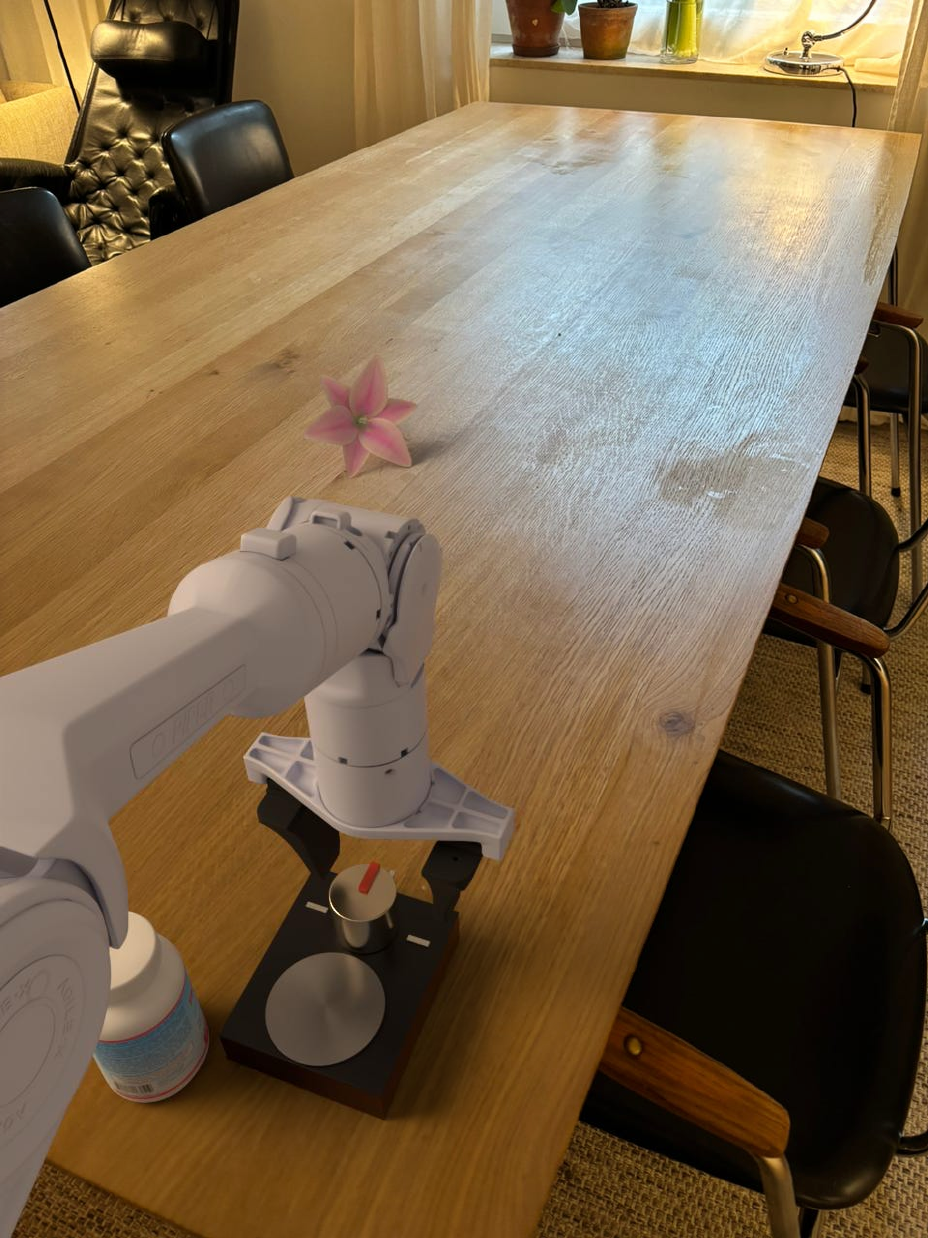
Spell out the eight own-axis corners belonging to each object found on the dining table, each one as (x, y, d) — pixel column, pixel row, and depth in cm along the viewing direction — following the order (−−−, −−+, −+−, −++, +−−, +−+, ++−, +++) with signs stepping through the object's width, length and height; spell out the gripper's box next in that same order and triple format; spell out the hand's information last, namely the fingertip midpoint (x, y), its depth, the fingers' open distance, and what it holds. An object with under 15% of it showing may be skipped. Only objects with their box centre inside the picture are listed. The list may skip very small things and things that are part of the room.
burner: (354, 1085, 53) (354, 1083, 53) (243, 1043, 55) (243, 1041, 55) (403, 975, 58) (403, 973, 58) (300, 940, 60) (299, 938, 60)
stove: (384, 1121, 55) (380, 1096, 53) (226, 1060, 58) (217, 1033, 55) (467, 921, 64) (466, 893, 62) (328, 876, 67) (323, 848, 65)
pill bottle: (232, 1036, 59) (196, 932, 51) (156, 1127, 55) (106, 1028, 47) (158, 986, 61) (114, 879, 54) (81, 1069, 57) (22, 966, 50)
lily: (290, 481, 106) (303, 430, 98) (307, 393, 111) (321, 338, 103) (399, 507, 109) (420, 459, 100) (411, 420, 114) (432, 368, 105)
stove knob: (383, 963, 59) (379, 927, 56) (323, 942, 60) (316, 906, 57) (409, 907, 62) (406, 871, 59) (351, 888, 63) (345, 852, 60)
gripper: (537, 706, 49) (528, 870, 58) (278, 635, 53) (307, 798, 62) (486, 813, 44) (485, 974, 53) (205, 726, 48) (248, 889, 57)
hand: (386, 886), depth 57 cm, fingers open, 7 cm apart
